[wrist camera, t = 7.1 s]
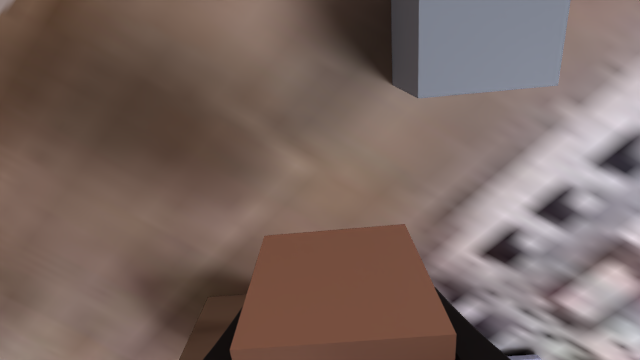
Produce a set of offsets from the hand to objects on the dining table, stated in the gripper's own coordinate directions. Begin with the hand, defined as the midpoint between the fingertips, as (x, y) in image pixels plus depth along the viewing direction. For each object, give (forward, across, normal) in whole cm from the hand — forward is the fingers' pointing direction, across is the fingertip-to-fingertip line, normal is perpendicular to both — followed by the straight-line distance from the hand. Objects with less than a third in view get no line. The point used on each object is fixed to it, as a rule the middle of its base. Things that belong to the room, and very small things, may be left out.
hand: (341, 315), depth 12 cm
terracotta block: (+2, 0, 0) cm, 2 cm away
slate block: (+8, -6, -9) cm, 14 cm away
